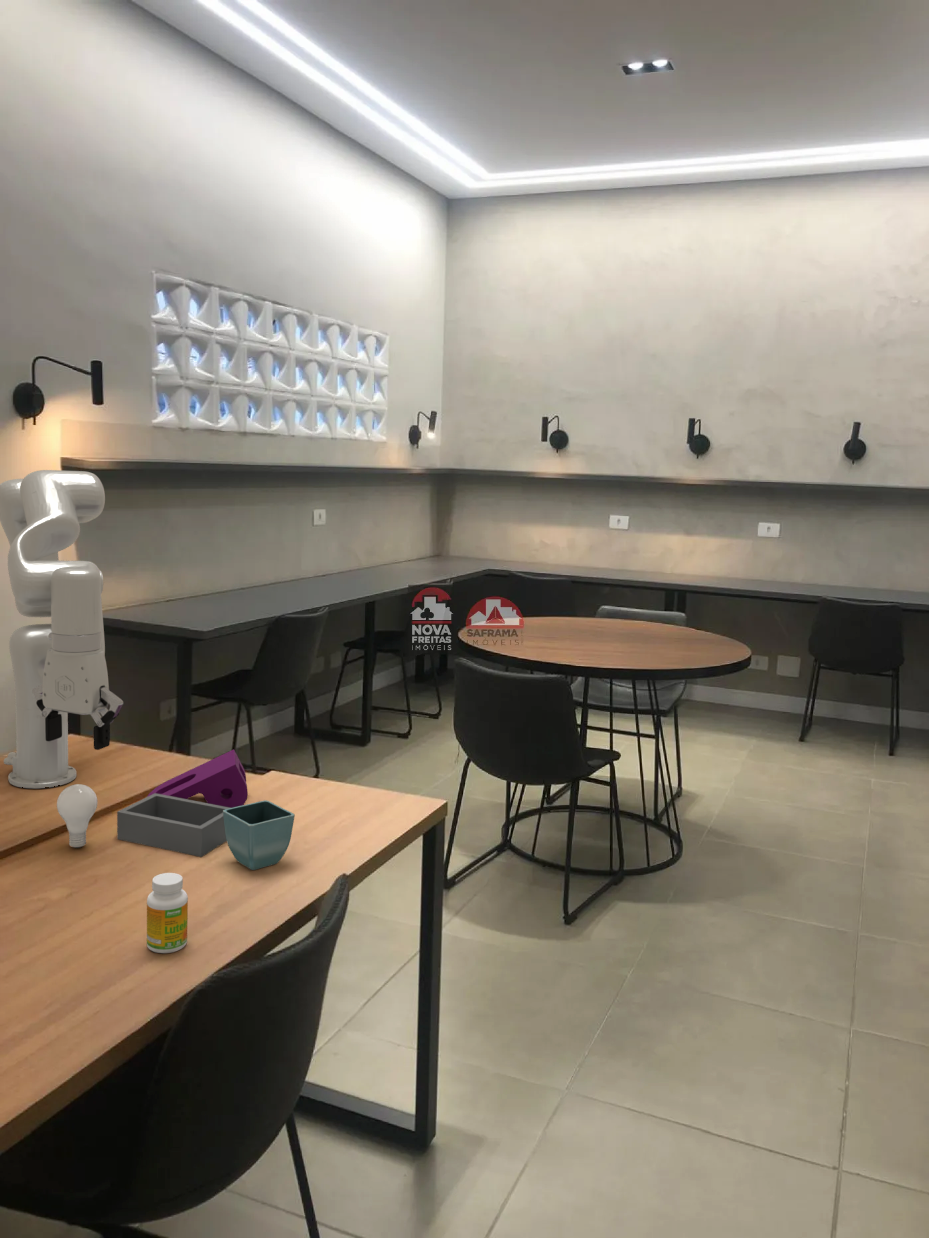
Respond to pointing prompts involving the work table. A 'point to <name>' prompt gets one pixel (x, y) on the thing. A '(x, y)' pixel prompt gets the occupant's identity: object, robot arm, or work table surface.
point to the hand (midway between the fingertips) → (77, 743)
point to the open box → (173, 824)
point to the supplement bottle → (167, 914)
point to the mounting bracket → (211, 782)
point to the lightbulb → (77, 811)
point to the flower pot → (258, 833)
